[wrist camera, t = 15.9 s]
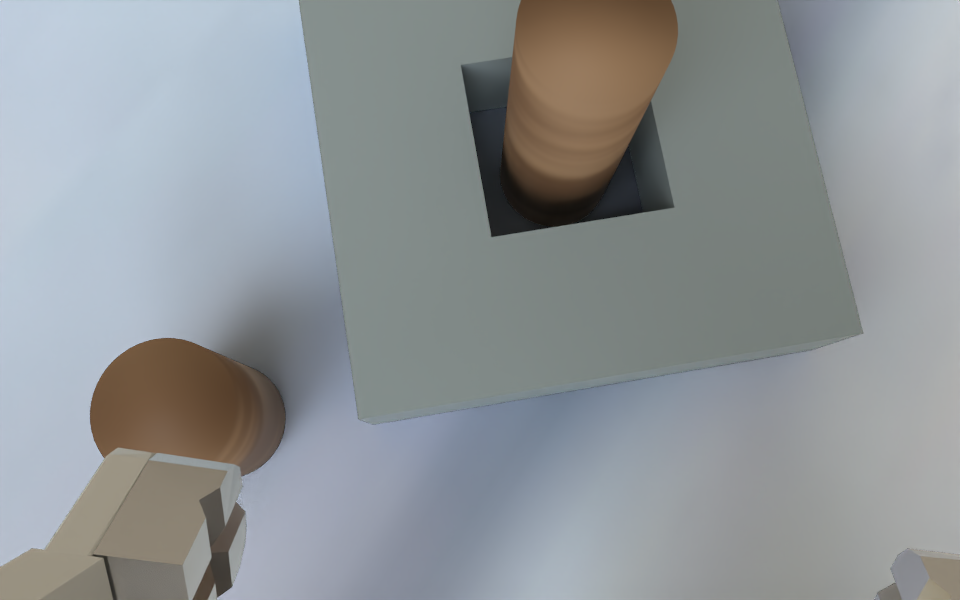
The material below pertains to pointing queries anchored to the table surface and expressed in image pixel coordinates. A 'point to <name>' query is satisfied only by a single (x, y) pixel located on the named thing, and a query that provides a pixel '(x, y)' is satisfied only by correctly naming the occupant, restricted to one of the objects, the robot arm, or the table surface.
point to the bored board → (570, 248)
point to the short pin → (187, 405)
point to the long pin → (578, 99)
